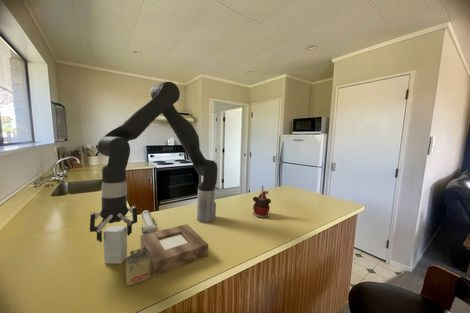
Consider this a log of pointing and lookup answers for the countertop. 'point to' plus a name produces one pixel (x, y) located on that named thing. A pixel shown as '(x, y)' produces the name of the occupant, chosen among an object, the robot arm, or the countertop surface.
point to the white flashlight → (148, 223)
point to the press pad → (172, 241)
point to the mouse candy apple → (261, 205)
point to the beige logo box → (138, 266)
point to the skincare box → (115, 244)
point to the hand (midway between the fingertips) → (114, 237)
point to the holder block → (173, 249)
